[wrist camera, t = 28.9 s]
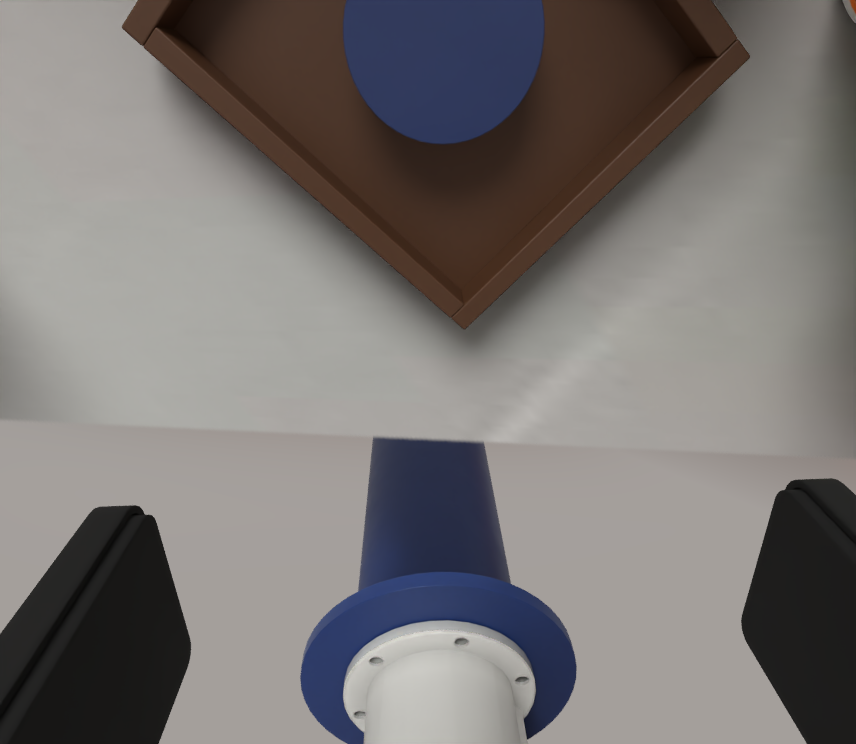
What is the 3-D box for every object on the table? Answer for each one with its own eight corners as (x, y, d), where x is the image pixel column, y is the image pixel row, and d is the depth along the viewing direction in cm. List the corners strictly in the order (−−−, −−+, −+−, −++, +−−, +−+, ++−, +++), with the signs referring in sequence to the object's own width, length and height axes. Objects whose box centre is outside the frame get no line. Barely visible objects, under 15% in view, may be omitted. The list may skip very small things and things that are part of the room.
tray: (719, 56, 22) (752, 56, 20) (460, 308, 27) (464, 330, 24) (407, -374, 17) (408, -436, 15) (149, 30, 21) (120, 27, 19)
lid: (310, 38, 21) (298, 36, 19) (439, -126, 19) (442, -150, 17) (440, 172, 23) (443, 184, 21) (567, 38, 21) (586, 36, 19)
